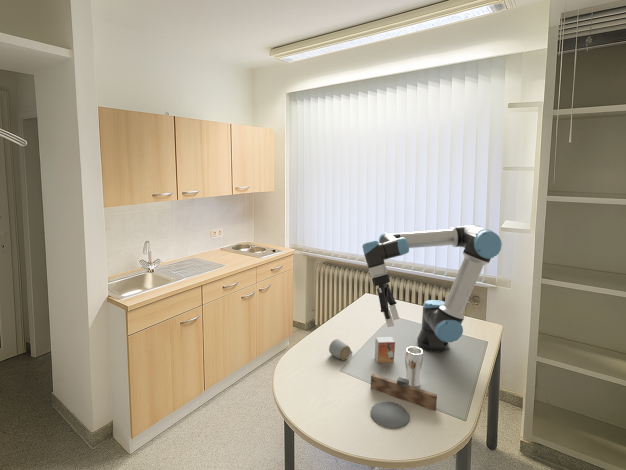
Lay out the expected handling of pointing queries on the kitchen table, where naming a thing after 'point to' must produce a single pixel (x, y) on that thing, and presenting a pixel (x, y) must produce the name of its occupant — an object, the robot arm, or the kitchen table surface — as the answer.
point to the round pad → (389, 414)
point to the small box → (384, 349)
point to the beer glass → (413, 365)
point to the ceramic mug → (339, 349)
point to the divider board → (404, 391)
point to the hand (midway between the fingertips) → (393, 322)
